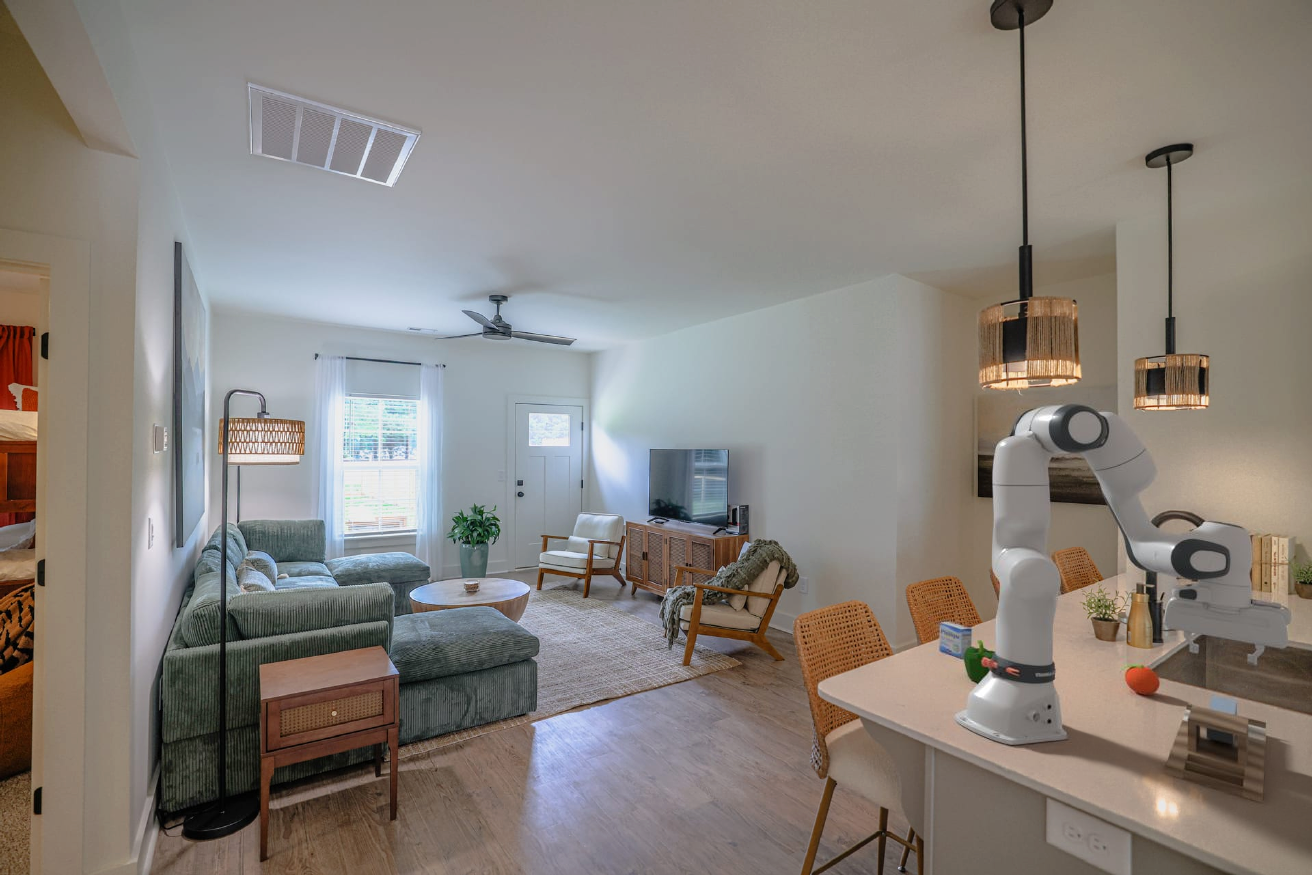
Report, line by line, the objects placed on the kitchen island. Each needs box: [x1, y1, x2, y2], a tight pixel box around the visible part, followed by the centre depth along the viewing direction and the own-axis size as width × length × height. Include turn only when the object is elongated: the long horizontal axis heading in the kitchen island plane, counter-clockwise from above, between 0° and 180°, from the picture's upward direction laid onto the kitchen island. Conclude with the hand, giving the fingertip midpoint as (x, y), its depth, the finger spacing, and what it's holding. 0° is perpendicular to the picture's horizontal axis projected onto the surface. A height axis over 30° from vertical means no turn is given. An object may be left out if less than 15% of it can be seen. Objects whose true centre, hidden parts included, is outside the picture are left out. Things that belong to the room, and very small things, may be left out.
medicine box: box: [938, 621, 973, 660], centre depth 183 cm, size 8×4×9 cm, turn 25°
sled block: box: [1207, 695, 1238, 744], centre depth 130 cm, size 16×4×4 cm, turn 134°
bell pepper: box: [963, 639, 995, 683], centre depth 161 cm, size 8×8×10 cm
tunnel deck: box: [1165, 703, 1267, 804], centre depth 124 cm, size 38×13×8 cm, turn 134°
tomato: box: [1119, 664, 1161, 696], centre depth 155 cm, size 8×7×7 cm
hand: (1222, 657), depth 135 cm, fingers open, 8 cm apart
